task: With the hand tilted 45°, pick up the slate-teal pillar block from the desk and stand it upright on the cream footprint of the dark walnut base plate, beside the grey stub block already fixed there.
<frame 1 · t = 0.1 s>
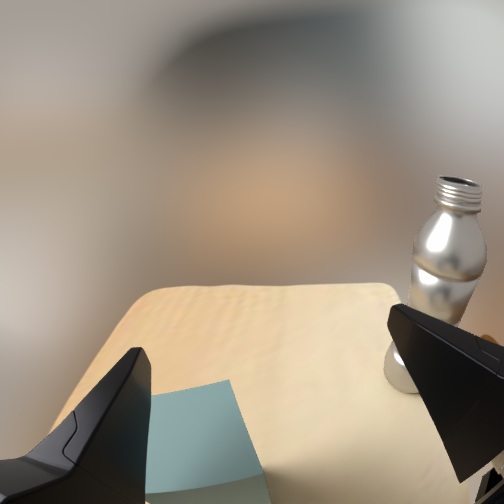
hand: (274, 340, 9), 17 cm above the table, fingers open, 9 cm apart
silver ribbed bottle: (408, 378, 23), on the table
pillar block: (232, 499, 14), on the table
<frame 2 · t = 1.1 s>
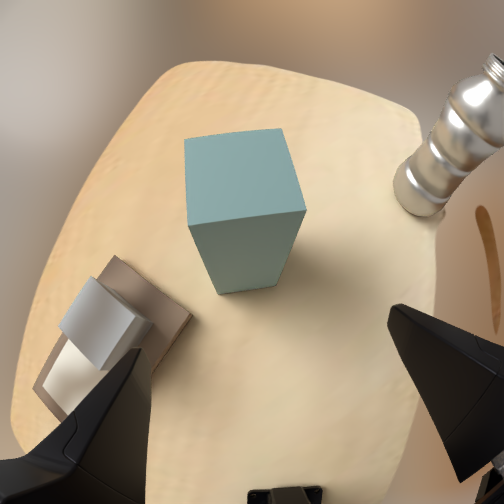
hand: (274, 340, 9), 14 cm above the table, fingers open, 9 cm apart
silver ribbed bottle: (410, 199, 28), on the table
pillar block: (242, 262, 24), on the table
base plate: (102, 359, 21), on the table
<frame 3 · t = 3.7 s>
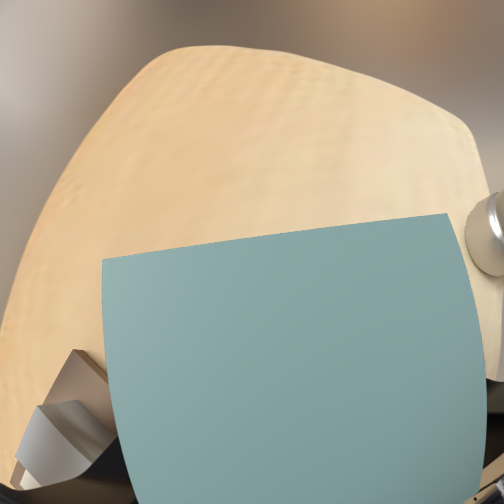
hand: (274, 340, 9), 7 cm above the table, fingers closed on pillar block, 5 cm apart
silver ribbed bottle: (479, 248, 18), on the table
pillar block: (266, 369, 15), on the table, touching gripper
base plate: (81, 473, 11), on the table
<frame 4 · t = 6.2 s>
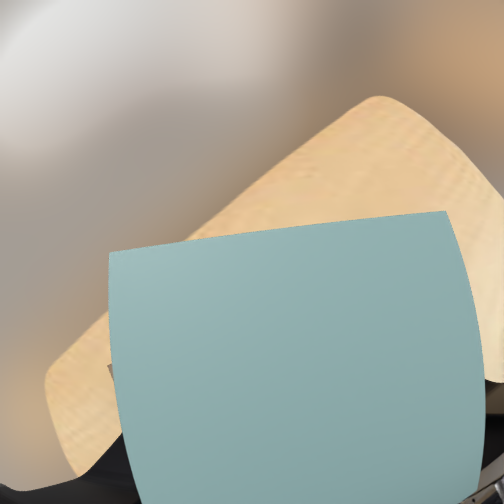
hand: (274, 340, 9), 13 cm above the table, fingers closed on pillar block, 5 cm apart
pillar block: (270, 368, 15), point 7 cm above the table, touching gripper
when the fingers open (9 cm above the table, at t = 8.3 s): pillar block stays where it is, resting on base plate.
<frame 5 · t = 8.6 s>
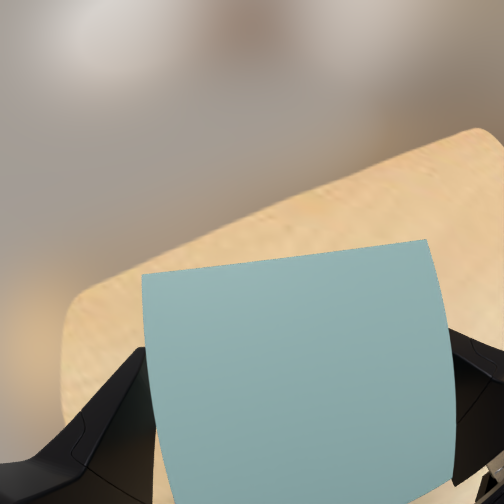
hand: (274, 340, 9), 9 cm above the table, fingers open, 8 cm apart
pillar block: (265, 367, 16), point 1 cm above the table, touching base plate
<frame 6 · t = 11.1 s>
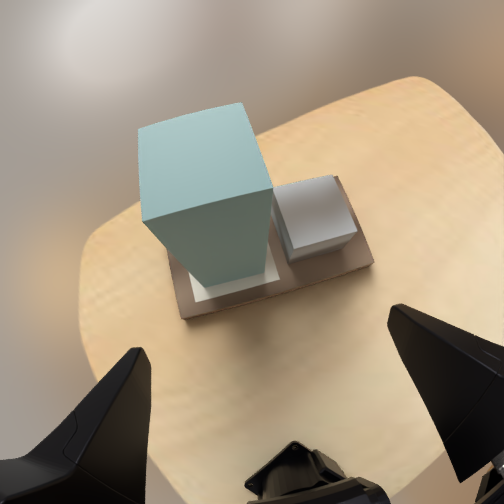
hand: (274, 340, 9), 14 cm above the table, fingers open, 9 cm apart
pillar block: (227, 251, 23), point 1 cm above the table, touching base plate
base plate: (266, 244, 24), on the table
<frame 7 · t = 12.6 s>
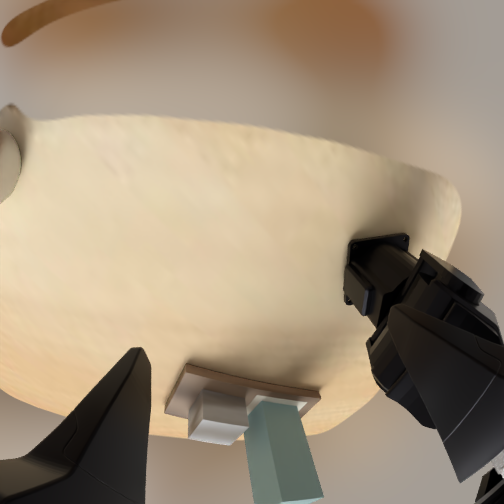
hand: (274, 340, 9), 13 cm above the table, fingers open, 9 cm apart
silver ribbed bottle: (7, 162, 16), on the table
pillar block: (269, 414, 30), point 1 cm above the table, touching base plate
base plate: (242, 402, 30), on the table
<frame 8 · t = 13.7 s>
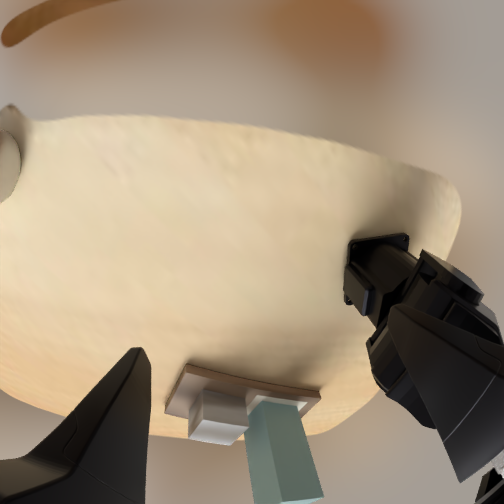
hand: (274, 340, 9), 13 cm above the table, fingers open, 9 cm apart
silver ribbed bottle: (7, 163, 16), on the table
pillar block: (269, 414, 30), point 1 cm above the table, touching base plate
base plate: (242, 402, 30), on the table
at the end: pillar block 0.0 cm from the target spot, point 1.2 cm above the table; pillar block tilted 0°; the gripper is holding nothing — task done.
